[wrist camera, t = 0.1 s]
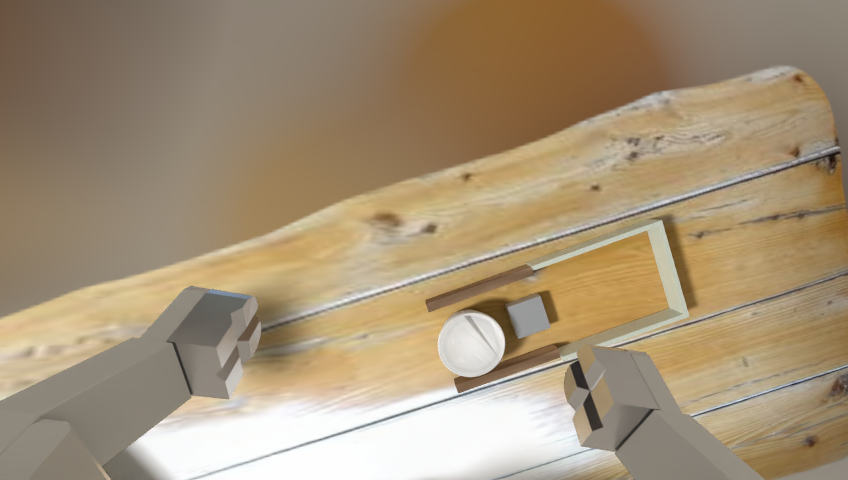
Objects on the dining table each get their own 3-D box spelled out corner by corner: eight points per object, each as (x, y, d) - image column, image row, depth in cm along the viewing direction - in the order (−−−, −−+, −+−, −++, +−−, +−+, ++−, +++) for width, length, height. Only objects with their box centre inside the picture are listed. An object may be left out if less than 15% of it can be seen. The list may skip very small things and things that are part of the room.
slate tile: (545, 322, 66) (550, 327, 64) (514, 334, 66) (518, 339, 64) (535, 292, 65) (540, 295, 63) (503, 303, 65) (507, 307, 63)
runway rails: (555, 351, 66) (561, 357, 64) (456, 386, 66) (458, 393, 64) (526, 264, 64) (531, 266, 62) (425, 300, 65) (425, 304, 62)
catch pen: (674, 310, 66) (689, 316, 63) (555, 352, 66) (563, 361, 63) (648, 219, 64) (661, 219, 61) (526, 262, 64) (532, 265, 61)
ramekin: (507, 315, 65) (515, 325, 60) (485, 371, 66) (492, 386, 61) (448, 295, 65) (451, 303, 59) (427, 352, 66) (429, 365, 60)
